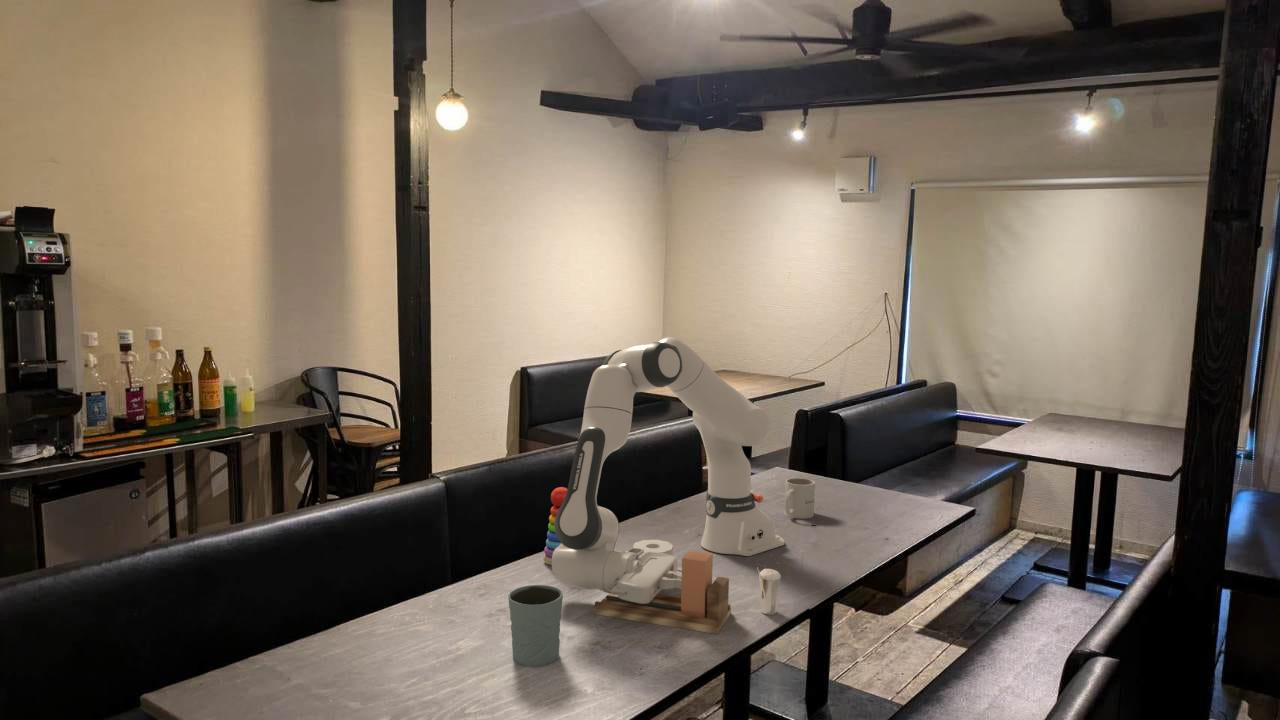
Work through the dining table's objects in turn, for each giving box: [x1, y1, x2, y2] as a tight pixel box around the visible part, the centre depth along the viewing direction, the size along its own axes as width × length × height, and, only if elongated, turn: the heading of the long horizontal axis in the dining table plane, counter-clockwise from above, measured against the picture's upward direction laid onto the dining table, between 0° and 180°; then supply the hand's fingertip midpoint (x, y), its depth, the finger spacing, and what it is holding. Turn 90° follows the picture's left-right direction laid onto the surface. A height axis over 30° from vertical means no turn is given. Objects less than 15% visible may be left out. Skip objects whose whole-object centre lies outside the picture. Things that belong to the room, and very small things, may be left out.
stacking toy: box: [543, 486, 568, 566], centre depth 207 cm, size 8×8×19 cm
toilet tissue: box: [632, 539, 674, 556], centre depth 194 cm, size 9×13×9 cm
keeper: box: [680, 549, 714, 618], centre depth 174 cm, size 5×6×12 cm
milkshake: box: [757, 567, 782, 616], centre depth 178 cm, size 4×5×10 cm
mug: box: [784, 477, 816, 520], centre depth 249 cm, size 12×9×10 cm
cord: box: [605, 594, 707, 615], centre depth 177 cm, size 24×1×1 cm, turn 70°
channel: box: [593, 576, 732, 635], centre depth 177 cm, size 27×11×8 cm, turn 70°
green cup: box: [508, 584, 564, 668], centre depth 157 cm, size 10×10×12 cm
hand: (685, 582), depth 175 cm, fingers closed, pressing on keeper
